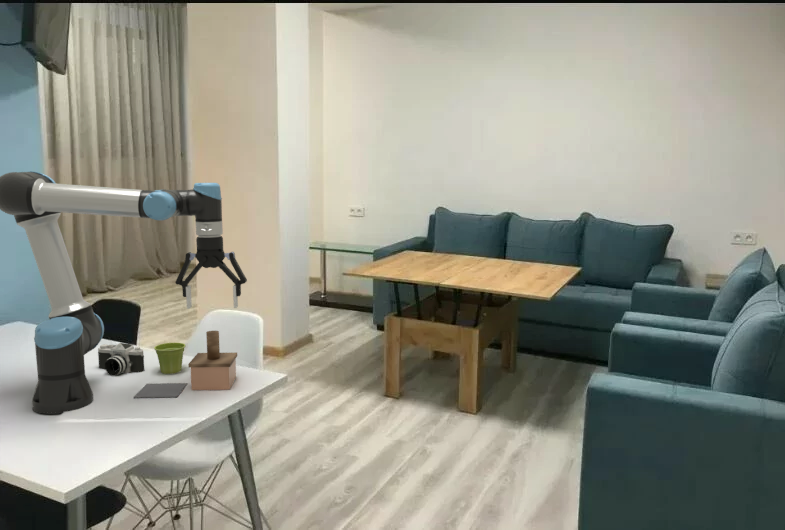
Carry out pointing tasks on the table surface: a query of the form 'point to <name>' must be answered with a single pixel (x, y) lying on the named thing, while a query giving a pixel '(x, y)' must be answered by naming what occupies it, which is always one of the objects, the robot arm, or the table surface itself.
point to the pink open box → (213, 377)
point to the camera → (121, 358)
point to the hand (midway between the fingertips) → (212, 307)
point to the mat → (161, 390)
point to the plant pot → (170, 357)
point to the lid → (213, 354)
